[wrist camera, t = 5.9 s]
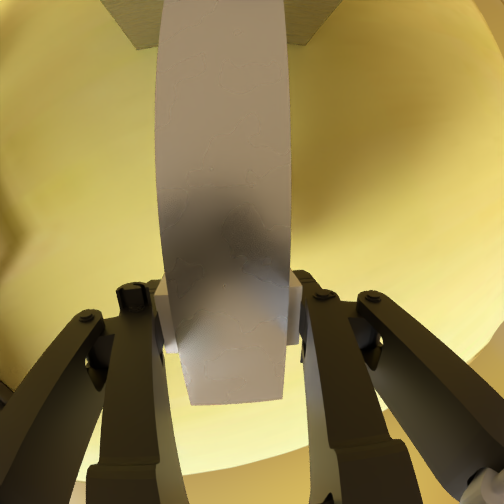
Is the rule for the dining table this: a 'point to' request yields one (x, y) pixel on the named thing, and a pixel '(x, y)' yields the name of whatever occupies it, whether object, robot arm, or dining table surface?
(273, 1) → the shaft
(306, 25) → the block
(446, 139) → the dining table surface
